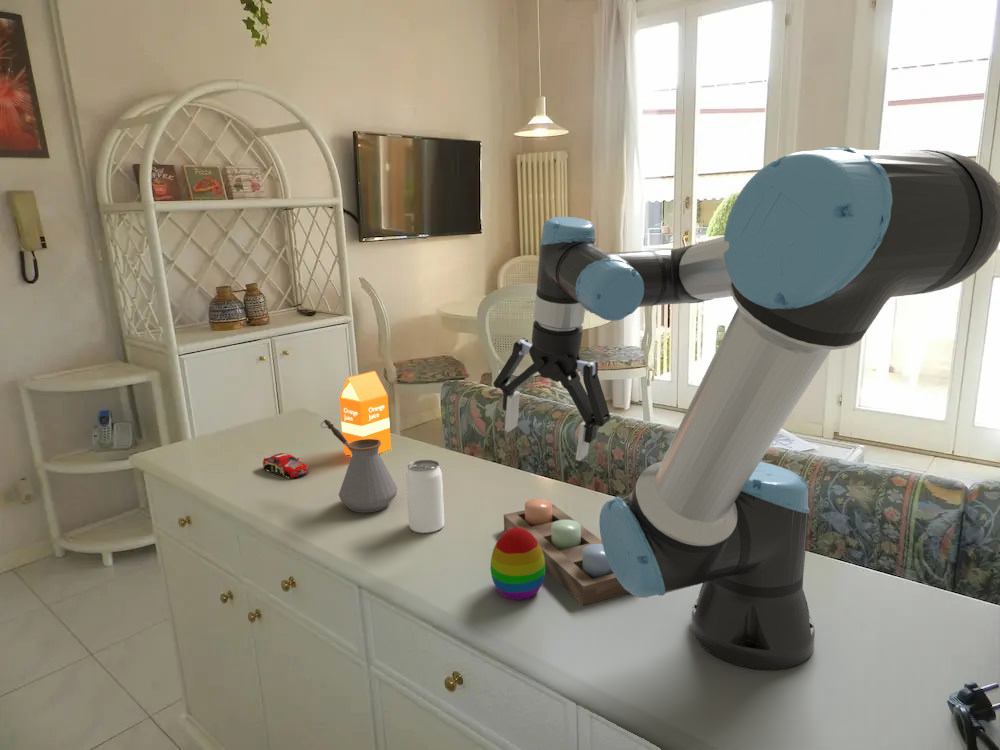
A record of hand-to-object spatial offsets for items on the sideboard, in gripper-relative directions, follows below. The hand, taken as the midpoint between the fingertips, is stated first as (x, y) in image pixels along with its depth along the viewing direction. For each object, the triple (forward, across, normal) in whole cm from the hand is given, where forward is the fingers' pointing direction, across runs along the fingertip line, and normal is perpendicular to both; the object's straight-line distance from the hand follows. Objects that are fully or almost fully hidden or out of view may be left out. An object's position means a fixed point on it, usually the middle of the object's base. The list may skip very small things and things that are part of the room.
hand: (545, 442), depth 112 cm
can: (+23, +19, +7) cm, 30 cm away
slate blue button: (+13, -16, +9) cm, 22 cm away
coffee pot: (+28, +40, +4) cm, 49 cm away
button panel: (+17, -8, +4) cm, 19 cm away
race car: (+34, +65, +2) cm, 74 cm away
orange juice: (+35, +58, -17) cm, 70 cm away
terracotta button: (+18, 0, -1) cm, 18 cm away
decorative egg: (+16, -7, +17) cm, 24 cm away
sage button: (+15, -8, +4) cm, 18 cm away
